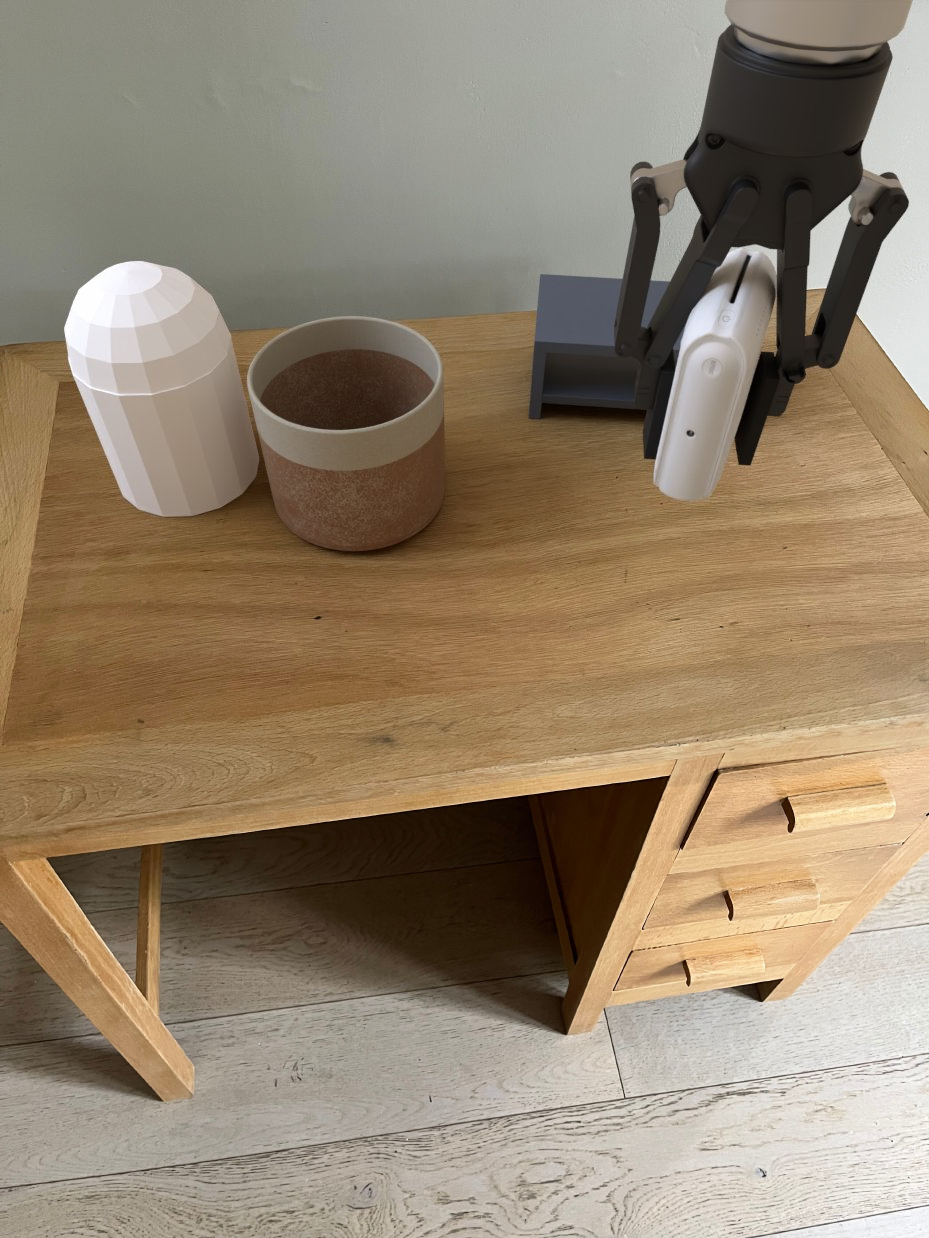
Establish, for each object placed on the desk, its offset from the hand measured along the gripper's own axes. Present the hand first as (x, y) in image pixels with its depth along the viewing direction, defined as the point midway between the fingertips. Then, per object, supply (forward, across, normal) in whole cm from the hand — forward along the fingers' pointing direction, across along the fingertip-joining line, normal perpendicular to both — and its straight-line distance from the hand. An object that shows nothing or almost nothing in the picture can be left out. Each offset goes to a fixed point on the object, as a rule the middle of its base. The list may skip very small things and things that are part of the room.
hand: (695, 448), depth 55 cm
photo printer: (+1, 0, 0) cm, 1 cm away
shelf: (+19, +1, -32) cm, 38 cm away
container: (+19, +43, -16) cm, 49 cm away
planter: (+19, +26, -14) cm, 35 cm away
